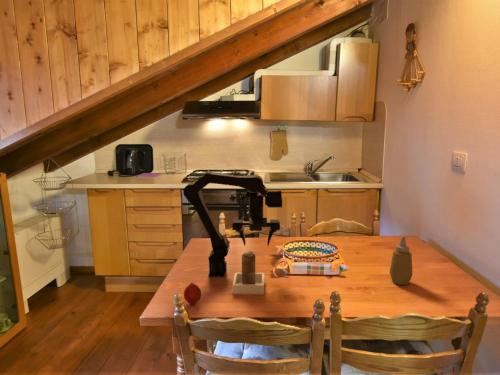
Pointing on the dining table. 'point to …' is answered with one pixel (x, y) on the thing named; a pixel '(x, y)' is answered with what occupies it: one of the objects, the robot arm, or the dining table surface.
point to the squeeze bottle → (401, 264)
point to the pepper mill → (248, 268)
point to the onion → (192, 294)
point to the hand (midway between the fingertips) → (256, 245)
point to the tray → (248, 285)
